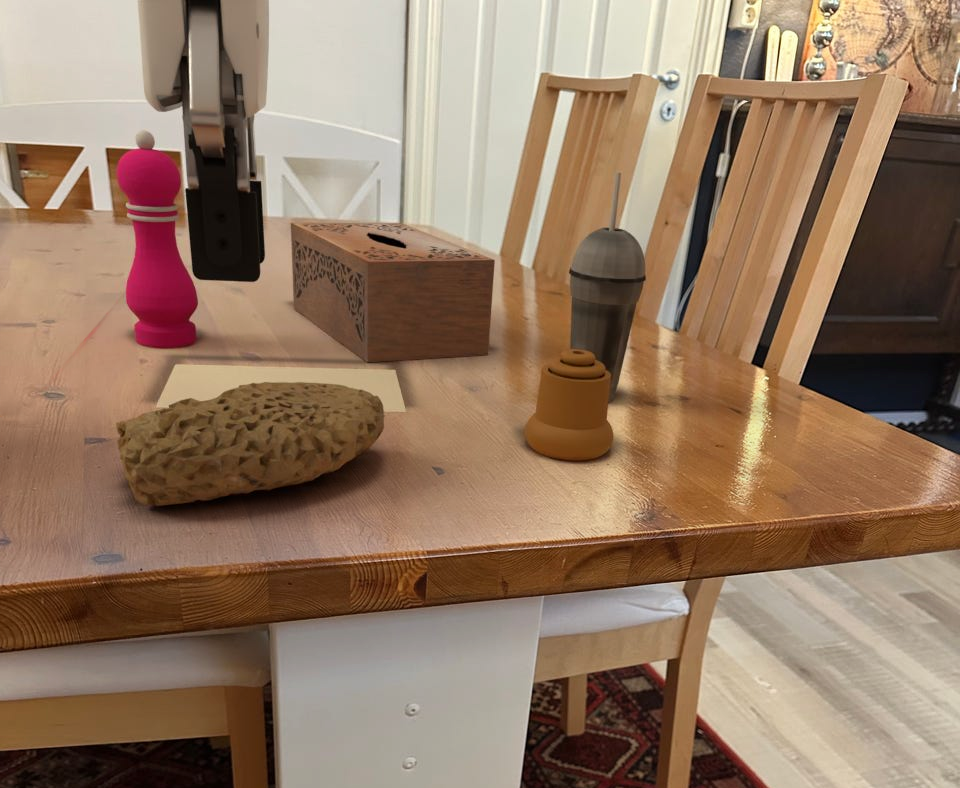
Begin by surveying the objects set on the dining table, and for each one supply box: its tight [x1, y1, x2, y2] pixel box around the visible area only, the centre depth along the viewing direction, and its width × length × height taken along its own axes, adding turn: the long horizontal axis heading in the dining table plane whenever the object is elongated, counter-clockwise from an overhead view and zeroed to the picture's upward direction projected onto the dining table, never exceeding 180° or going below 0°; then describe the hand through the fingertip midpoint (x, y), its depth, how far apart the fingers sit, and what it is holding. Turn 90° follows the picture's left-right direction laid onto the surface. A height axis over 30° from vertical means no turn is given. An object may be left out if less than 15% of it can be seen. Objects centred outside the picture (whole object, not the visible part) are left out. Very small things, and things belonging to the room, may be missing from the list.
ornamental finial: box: [524, 348, 614, 462], centre depth 77 cm, size 8×8×8 cm
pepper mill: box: [116, 129, 199, 349], centre depth 95 cm, size 7×7×20 cm
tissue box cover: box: [290, 222, 496, 363], centre depth 108 cm, size 26×14×10 cm, turn 27°
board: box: [154, 363, 407, 414], centre depth 89 cm, size 22×14×1 cm, turn 99°
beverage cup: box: [568, 172, 647, 403], centre depth 88 cm, size 7×7×20 cm
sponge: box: [115, 382, 386, 507], centre depth 67 cm, size 13×8×20 cm
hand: (230, 266), depth 48 cm, fingers open, 4 cm apart
